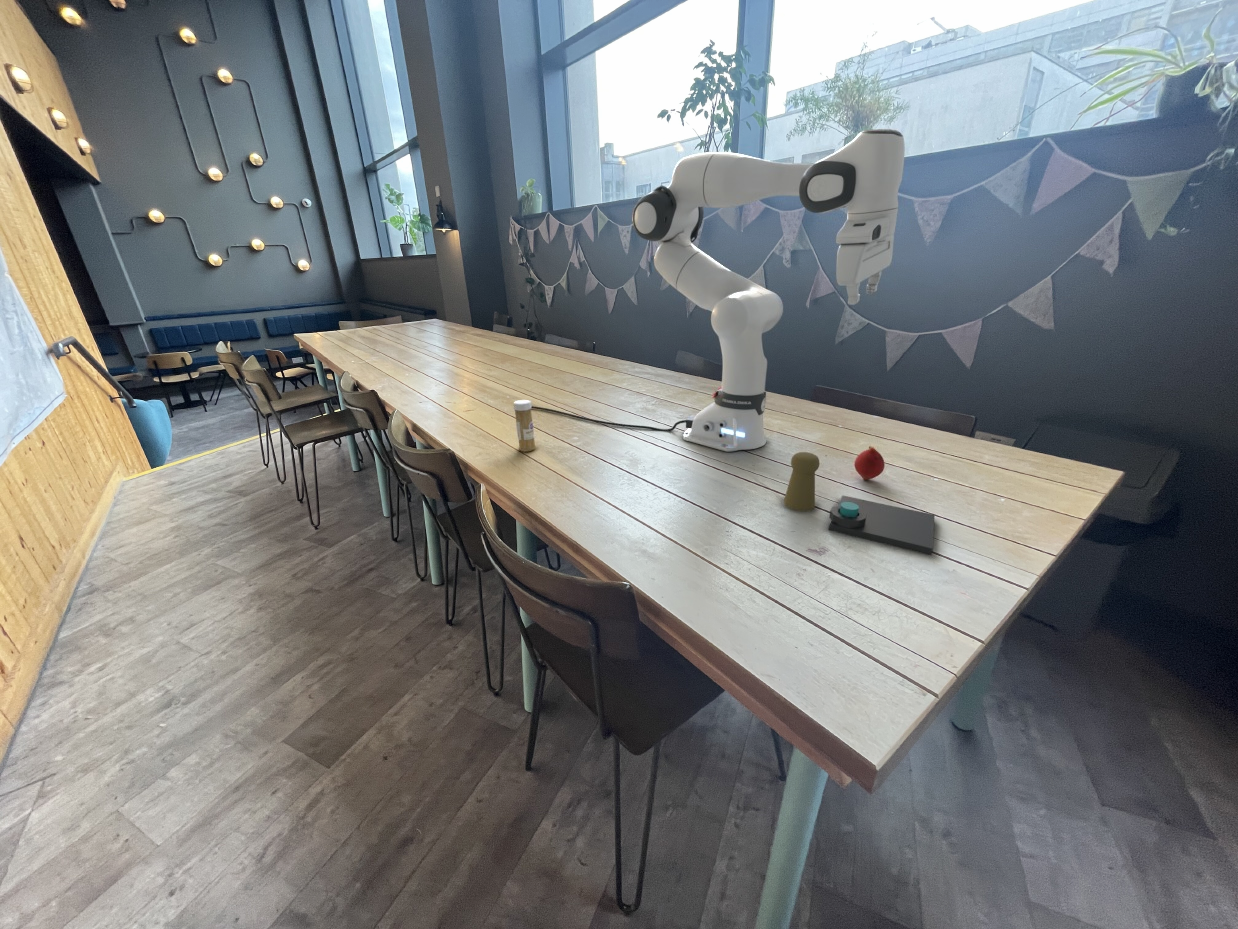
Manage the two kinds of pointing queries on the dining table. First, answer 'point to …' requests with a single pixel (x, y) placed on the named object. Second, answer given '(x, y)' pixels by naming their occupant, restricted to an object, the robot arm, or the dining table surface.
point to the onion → (869, 463)
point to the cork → (802, 482)
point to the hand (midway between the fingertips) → (862, 298)
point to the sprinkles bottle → (524, 425)
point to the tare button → (849, 509)
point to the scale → (886, 525)
